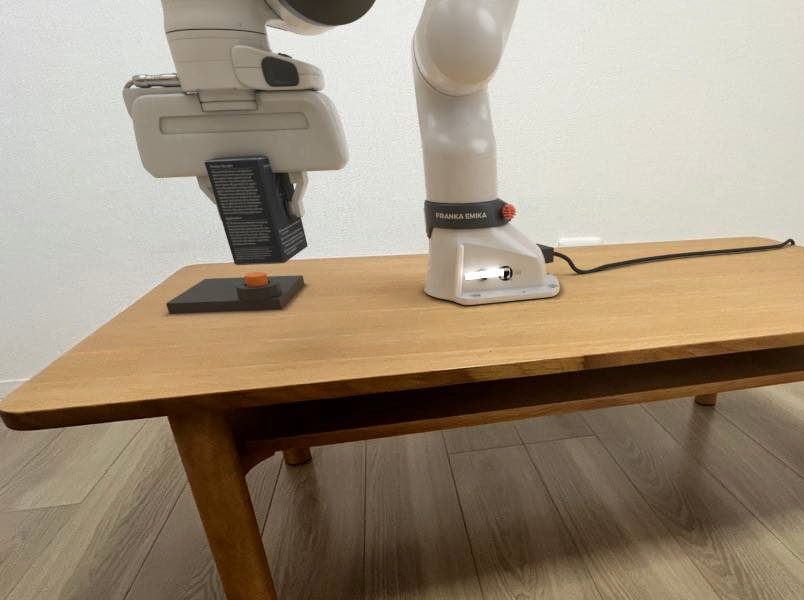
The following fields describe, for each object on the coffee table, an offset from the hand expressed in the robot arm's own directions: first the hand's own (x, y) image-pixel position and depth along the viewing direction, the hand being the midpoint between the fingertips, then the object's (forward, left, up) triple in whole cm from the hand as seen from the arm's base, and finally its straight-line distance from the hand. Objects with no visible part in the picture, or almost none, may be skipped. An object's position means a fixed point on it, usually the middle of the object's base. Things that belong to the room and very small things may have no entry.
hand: (264, 218), depth 59 cm
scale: (+14, -24, -16) cm, 32 cm away
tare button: (+10, -19, -12) cm, 25 cm away
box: (0, 0, -4) cm, 4 cm away
